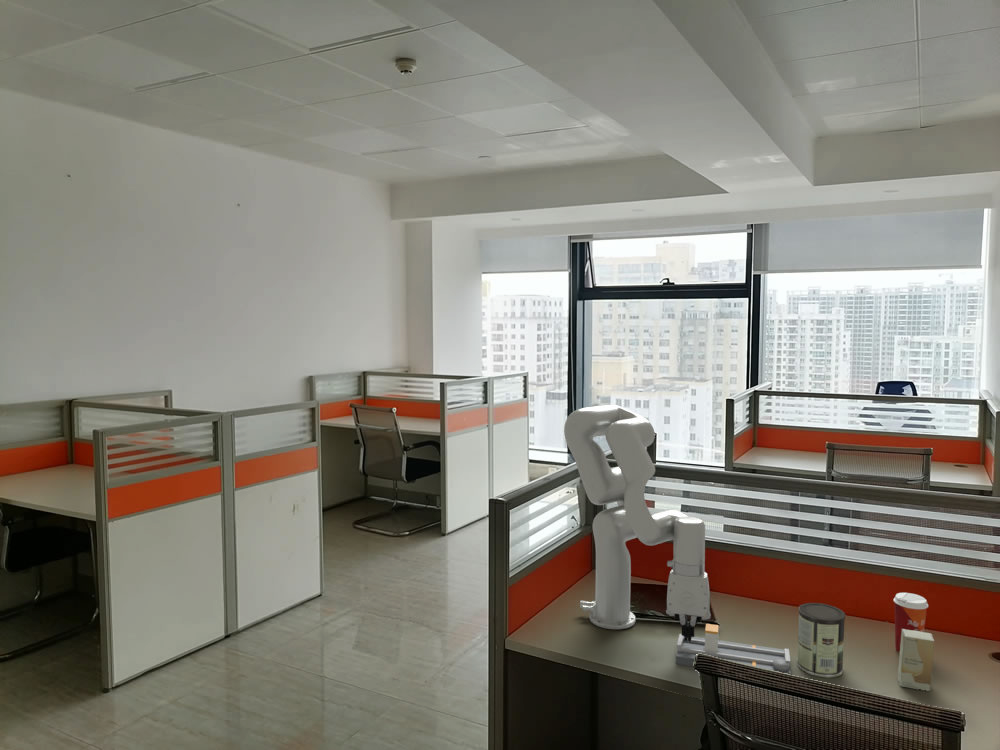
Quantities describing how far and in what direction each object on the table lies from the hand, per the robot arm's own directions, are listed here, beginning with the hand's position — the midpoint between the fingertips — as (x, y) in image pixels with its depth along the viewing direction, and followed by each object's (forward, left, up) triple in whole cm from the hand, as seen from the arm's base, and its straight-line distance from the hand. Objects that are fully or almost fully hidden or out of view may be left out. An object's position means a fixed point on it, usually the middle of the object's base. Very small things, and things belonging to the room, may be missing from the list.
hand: (687, 638), depth 183 cm
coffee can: (+31, +4, -4) cm, 31 cm away
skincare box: (+51, +2, -4) cm, 51 cm away
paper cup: (+53, +20, -4) cm, 56 cm away
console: (+11, 0, -4) cm, 11 cm away
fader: (+6, 0, -2) cm, 6 cm away
